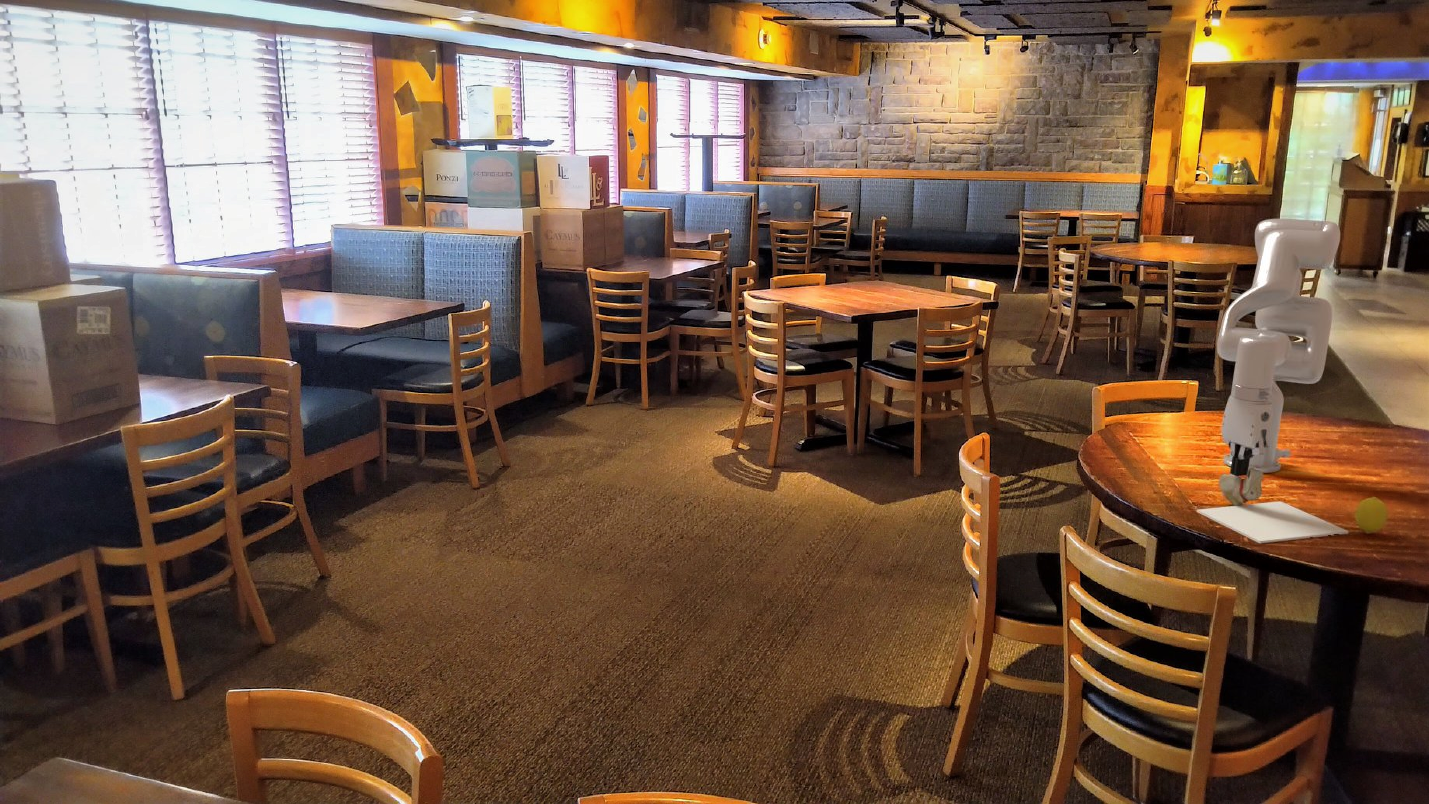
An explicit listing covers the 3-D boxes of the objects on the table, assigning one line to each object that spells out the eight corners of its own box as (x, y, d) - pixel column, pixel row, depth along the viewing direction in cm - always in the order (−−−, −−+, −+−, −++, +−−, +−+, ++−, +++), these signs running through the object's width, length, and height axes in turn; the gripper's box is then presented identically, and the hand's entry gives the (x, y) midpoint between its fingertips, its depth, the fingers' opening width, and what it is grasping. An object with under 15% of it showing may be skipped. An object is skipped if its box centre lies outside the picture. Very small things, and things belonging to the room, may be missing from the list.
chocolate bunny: (1221, 504, 226) (1251, 483, 217) (1217, 474, 230) (1246, 452, 222) (1244, 511, 226) (1275, 489, 218) (1239, 480, 231) (1269, 458, 223)
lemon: (1346, 528, 214) (1352, 492, 212) (1371, 528, 215) (1377, 492, 213) (1364, 539, 209) (1371, 502, 207) (1390, 538, 210) (1397, 501, 207)
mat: (1280, 503, 229) (1280, 501, 228) (1348, 533, 212) (1348, 531, 212) (1196, 511, 223) (1196, 509, 223) (1259, 543, 206) (1260, 541, 206)
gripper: (1292, 401, 215) (1279, 484, 219) (1239, 384, 228) (1228, 463, 233) (1262, 403, 213) (1249, 487, 217) (1211, 386, 227) (1200, 465, 231)
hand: (1238, 474), depth 225 cm, fingers closed
